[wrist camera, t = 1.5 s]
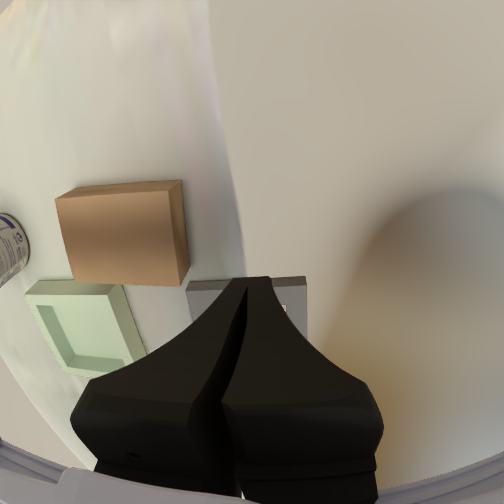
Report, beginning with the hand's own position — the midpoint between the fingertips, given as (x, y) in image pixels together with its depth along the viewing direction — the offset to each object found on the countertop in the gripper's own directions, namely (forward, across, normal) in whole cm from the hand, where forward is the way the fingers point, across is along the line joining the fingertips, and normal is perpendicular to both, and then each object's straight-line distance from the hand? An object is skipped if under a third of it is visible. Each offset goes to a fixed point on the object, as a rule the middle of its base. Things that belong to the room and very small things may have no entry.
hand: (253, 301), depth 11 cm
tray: (+9, +16, +8) cm, 20 cm away
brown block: (+10, +9, 0) cm, 13 cm away
